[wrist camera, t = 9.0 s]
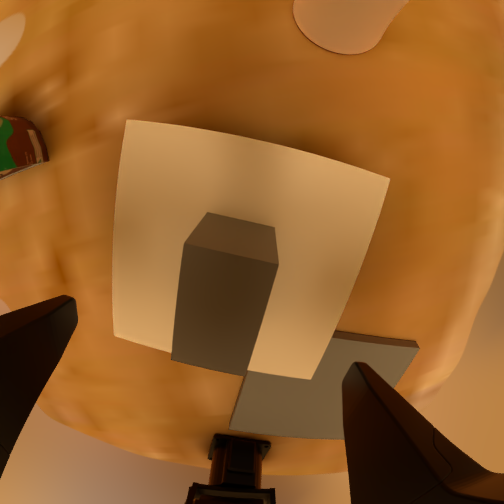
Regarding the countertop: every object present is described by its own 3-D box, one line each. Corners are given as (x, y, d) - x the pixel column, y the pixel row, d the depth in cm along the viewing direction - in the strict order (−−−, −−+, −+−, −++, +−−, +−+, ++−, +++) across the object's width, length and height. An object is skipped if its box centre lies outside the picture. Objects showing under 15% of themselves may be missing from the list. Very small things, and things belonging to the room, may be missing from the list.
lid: (309, 370, 17) (318, 432, 12) (119, 328, 16) (85, 380, 12) (383, 176, 12) (436, 196, 8) (134, 120, 12) (76, 115, 7)
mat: (351, 432, 27) (353, 439, 26) (229, 421, 26) (228, 429, 25) (415, 341, 22) (419, 348, 21) (262, 317, 21) (262, 325, 20)
